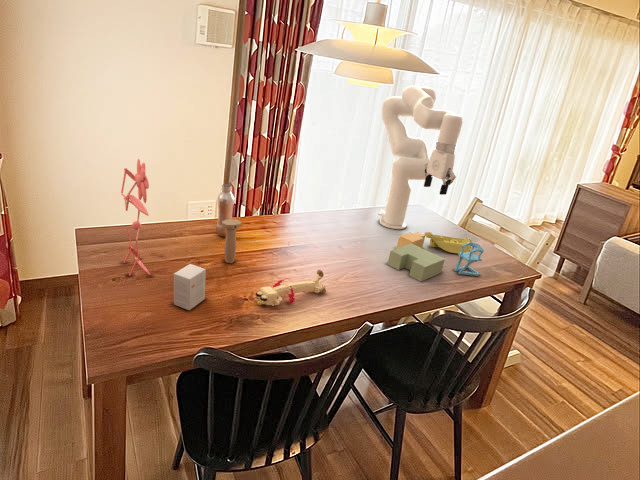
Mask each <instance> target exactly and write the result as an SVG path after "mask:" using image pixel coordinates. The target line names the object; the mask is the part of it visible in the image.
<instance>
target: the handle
mask: <svg viewBox="0 0 640 480" xmlns="http://www.w3.org/2000/svg"><path fill="white" fill-rule="evenodd" d="M222 226H223V227H224V228H226V236H225V239H224V240H225V241H224V250H223V251H224V253H223V254H224V262H225V263H226V264H233V263H234V262H235V258H236V255H237V254H236V253H237V229H239V228H240V227H241V226H242V222H241V220H239V219H236V218H235V219H234V218H232V219H228V220H224V221H222Z"/></svg>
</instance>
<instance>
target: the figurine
mask: <svg viewBox="0 0 640 480" xmlns="http://www.w3.org/2000/svg"><path fill="white" fill-rule="evenodd" d="M123 172H124V173H123V177H122V184H121V190H120V193H121V196H122V197H123V200H124V206H125V208H124V209H125V211H126V212H128V210H129V203H130V204H131V205H133V206H134V207H135V208H136V209H137V220H134V221H133V222H132V224H131V225H130V226H126V232H127V235H128V239H129V243H130V245H128V246H127V247H128V252H127V254H126V256H125V258H124V260H123V262H122V263H123V264H126V262H127V260H128V258H129V256H130V254H131V253H132V254H133V255H134V260H135V262H134V264H133V265H132V268H131V269H130V272H129V273H128V276H129V277H131V276H132V274H133V272H134V270H135V269H136V266H137V264H138V266H139V267H140V269H142V270H143V271H144V272H145V274H147V275H148V276H151V273H150V271H149V270H148V269H147V267H146V266H145V264H144V263H143V262H142V261H141V260H140V257H141V255H140V253H139V246H138V244H139V243H138V239H139V233H140V230H141V228H142V223H141V222H140V213H141V214H144V215H145V216H147V217H148V216H150V214H149V212H148V210H147V208H146V206H145V205H144V204H146V203H147V200H148V191H147V190H148V189H149V188H150V183H149V179H148V177H147V175H146V173H147V172H146V163H145V162H144V161H143V162H142V163H141V160H140V158H137V161H136V173H135V174H133V173H132V172H131V171H130V170H129V169H128V168H127V167H125V168H123ZM127 176H128V177H129V178H131V179H132V181H134V183H133V185H132V187H131V188H130V190H129V191H128V192H127V195H125V194H124V189H125V183H126V177H127ZM135 187H137V196H138V197H136V195H133V194H131V193H132V192H133V190H134V189H135ZM141 200H143V202H142V201H141ZM130 228H132V229H133V230H136V231H137V232H136V237H135V238H136V239H135V245H136V247H134V246H133V244H132V239H131V235H130V231H129V229H130ZM135 248H136V249H135ZM151 254H153V255H156V256H159V257H161V258H164V259H165V260H167V258H166V257H165V256H163V255H160V254H157V253H153V252H151ZM170 264H172V261H170ZM171 270H172V269H170V271H171Z"/></svg>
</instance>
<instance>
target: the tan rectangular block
mask: <svg viewBox="0 0 640 480" xmlns="http://www.w3.org/2000/svg"><path fill="white" fill-rule="evenodd" d="M425 239H426V236H425V234H423V233H422V232H419V231H417V232H410V231H409V232H407V233H403V234H400V235H399V236H398V239H397V244H396V248H399V247H402V246H405V245H408V244H411V243H412V244H414V245H416V246H418V247H420V248H422V249H423V246H424V242H425Z"/></svg>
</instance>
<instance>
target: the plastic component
mask: <svg viewBox="0 0 640 480" xmlns="http://www.w3.org/2000/svg"><path fill="white" fill-rule="evenodd" d="M424 235H425V238H428V239H430V240H429V247H432V248H440V249H441V250H444V252H448V253H450V254H456V255H457V254H458V253H460V252H461V251H462V245H464V244H466V243H472V238H471V237H466V238H465V237H464V238H463V237H461V238H459V237H453V236H452V237H451V236H444V235H438V234H433V233H432V232H430V231H425V232H424ZM471 249H472V246H470V245H468V246H466V247H464V252H463V253H465V252H470V251H471Z"/></svg>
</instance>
